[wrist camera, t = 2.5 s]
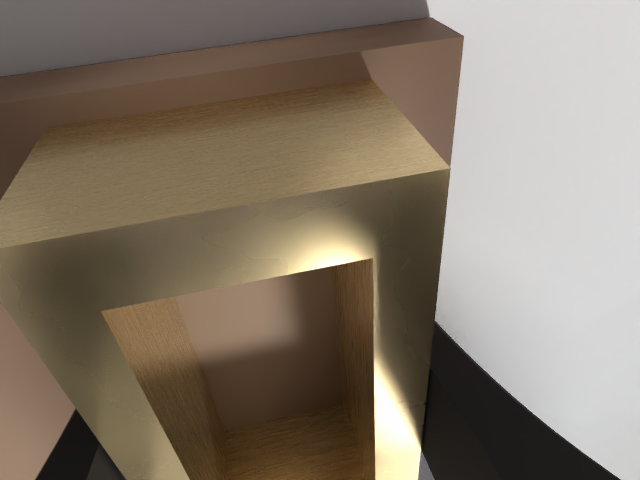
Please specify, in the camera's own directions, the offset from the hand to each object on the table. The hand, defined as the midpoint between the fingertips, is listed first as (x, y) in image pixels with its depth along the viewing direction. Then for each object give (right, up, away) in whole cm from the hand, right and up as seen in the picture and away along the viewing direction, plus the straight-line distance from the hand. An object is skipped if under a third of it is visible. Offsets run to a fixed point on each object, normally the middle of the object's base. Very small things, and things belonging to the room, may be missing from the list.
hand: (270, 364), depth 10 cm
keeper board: (-5, +1, +2) cm, 5 cm away
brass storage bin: (0, +1, +1) cm, 1 cm away
